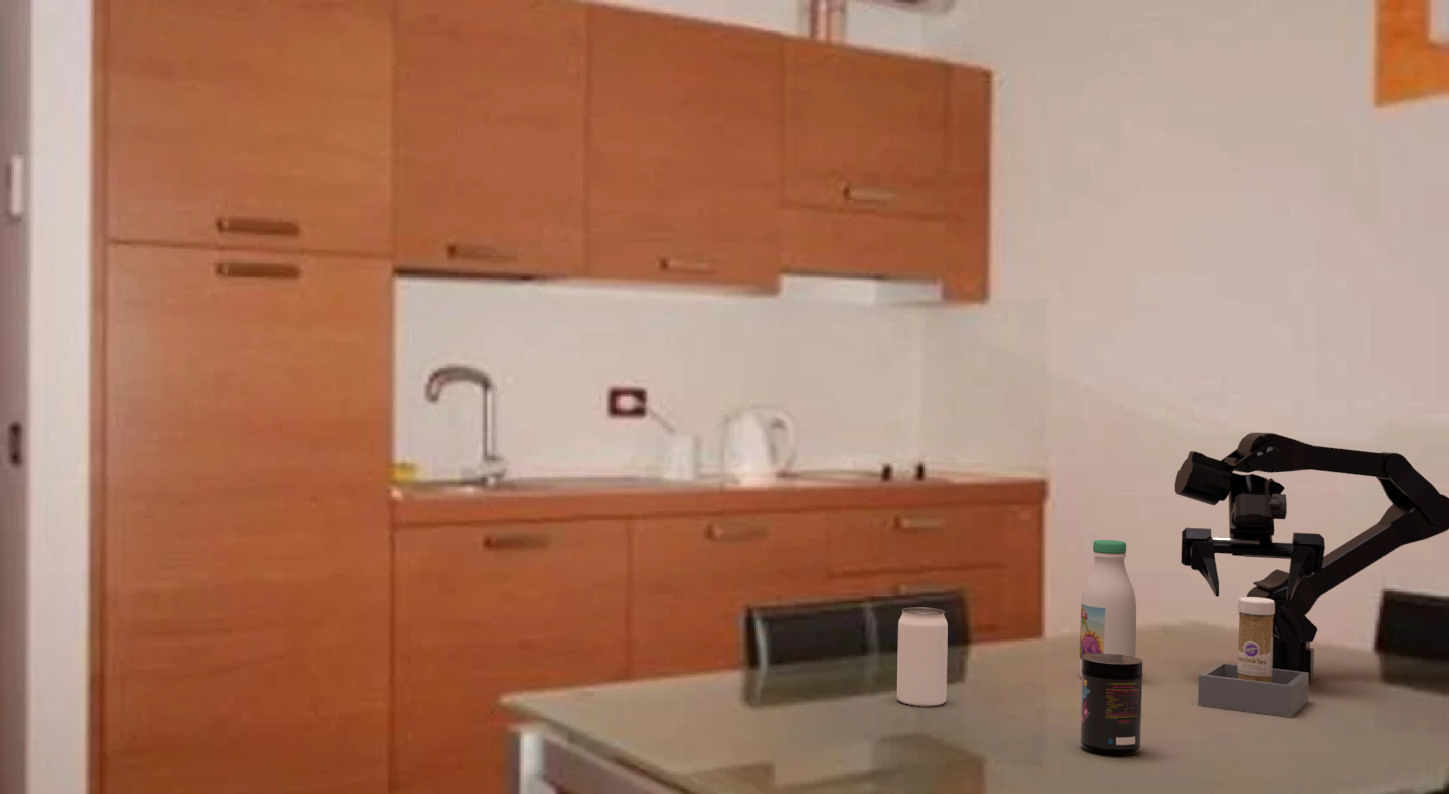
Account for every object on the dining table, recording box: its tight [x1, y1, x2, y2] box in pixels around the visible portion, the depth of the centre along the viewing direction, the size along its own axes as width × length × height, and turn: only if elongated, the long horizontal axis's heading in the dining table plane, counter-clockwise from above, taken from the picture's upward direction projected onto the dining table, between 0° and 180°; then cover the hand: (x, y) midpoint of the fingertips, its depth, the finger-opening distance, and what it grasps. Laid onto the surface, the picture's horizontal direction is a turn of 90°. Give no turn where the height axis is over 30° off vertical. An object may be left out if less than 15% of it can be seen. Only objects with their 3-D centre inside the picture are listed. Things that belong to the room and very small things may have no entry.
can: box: [896, 606, 949, 708], centre depth 181 cm, size 6×6×12 cm
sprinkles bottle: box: [1236, 596, 1275, 683], centre depth 184 cm, size 5×5×14 cm
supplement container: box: [1079, 654, 1143, 757], centre depth 157 cm, size 7×7×10 cm
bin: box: [1197, 661, 1310, 719], centre depth 184 cm, size 12×12×4 cm
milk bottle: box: [1079, 539, 1137, 679], centre depth 199 cm, size 8×8×20 cm
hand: (1253, 596), depth 189 cm, fingers open, 9 cm apart
